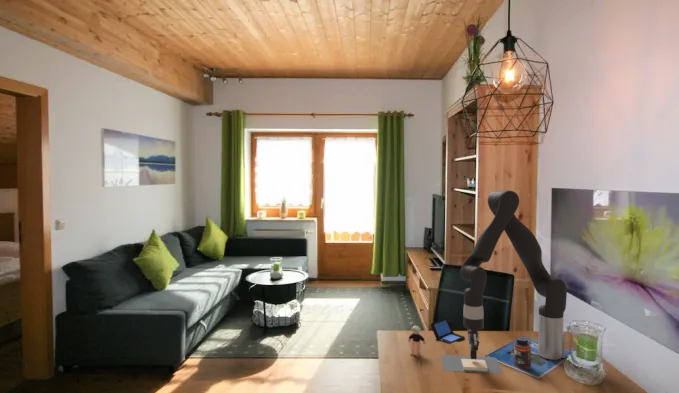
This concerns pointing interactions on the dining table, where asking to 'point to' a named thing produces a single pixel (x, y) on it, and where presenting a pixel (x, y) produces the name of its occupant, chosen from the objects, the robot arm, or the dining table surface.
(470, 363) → the tile
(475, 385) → the dining table surface
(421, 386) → the dining table surface
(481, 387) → the dining table surface
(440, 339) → the handheld game console
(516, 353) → the supplement bottle
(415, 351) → the grandmother figurine
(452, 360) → the mat
